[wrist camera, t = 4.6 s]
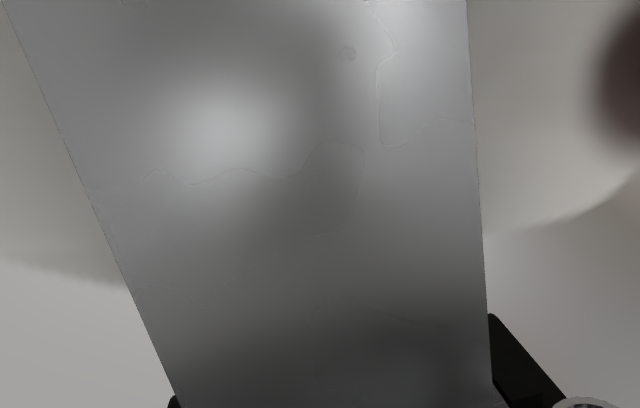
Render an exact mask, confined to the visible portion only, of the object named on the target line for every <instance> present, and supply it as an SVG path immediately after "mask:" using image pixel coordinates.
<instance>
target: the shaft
mask: <svg viewBox="0 0 640 408" xmlns="http://www.w3.org/2000/svg"><path fill="white" fill-rule="evenodd" d="M2 3H3V5H4V7H5V10H6V12H7V14H8V16H9V19H10V21H11V23H12V25H13V28H14V30H15V32H16V34H17V37H18V39H19V41H20V44H21V46H22V48H23V50H24V53H25V55H26V57H27V59H28V62H29V64H30V66H31V68H32V71H33V73H34V75H35V78H36V80H37V82H38V84H39V87H40V89H41V91H42V93H43V96H44V98H45V100H46V103H47V105H48V107H49V109H50V112H51V114H52V116H53V118H54V121H55V123H56V125H57V127H58V130H59V132H60V134H61V137H62V139H63V141H64V143H65V146H66V148H67V150H68V152H69V155H70V157H71V159H72V161H73V164H74V166H75V168H76V171H77V173H78V175H79V177H80V180H81V182H82V184H83V186H84V189H85V191H86V193H87V195H88V198H89V200H90V202H91V205H92V207H93V209H94V211H95V214H96V216H97V218H98V220H99V223H100V225H101V227H102V230H103V232H104V234H105V236H106V239H107V241H108V243H109V245H110V248H111V250H112V252H113V254H114V257H115V259H116V261H117V264H118V266H119V268H120V270H121V273H122V275H123V277H124V279H125V282H126V284H127V286H128V288H129V291H130V293H131V295H132V298H133V300H134V302H135V304H136V307H137V309H138V311H139V313H140V316H141V318H142V320H143V322H144V325H145V327H146V329H147V332H148V334H149V336H150V338H151V341H152V343H153V345H154V347H155V350H156V352H157V354H158V356H159V359H160V361H161V363H162V365H163V368H164V370H165V372H166V375H167V377H168V379H169V381H170V383H171V386H172V388H173V390H174V393H175V395H176V397H177V400H178V402H179V404H180V406H181V408H509V406H508V405H507V404H506V402H505V401H504V399H503V398H502V396H501V395H500V393H499V392H498V390H497V389H496V387H495V386H494V385H493V383H492V372H491V357H490V343H489V328H488V313H487V299H486V285H485V270H484V256H483V241H482V226H481V212H480V197H479V182H478V168H477V153H476V139H475V124H474V110H473V95H472V80H471V66H470V51H469V37H468V22H467V8H466V0H2Z"/></svg>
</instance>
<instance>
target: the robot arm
mask: <svg viewBox="0 0 640 408" xmlns="http://www.w3.org/2000/svg"><path fill="white" fill-rule="evenodd" d="M488 328H489V343H490V357H491V372H492V383H493V385H494V386H495V387H496V389H497V390H498V392H499V393H500V395H501V396H502V398H503V399H504V401H505V402H506V404H507V405H508V406H509V408H619V407H617V406H615V405H613V404H611V403H608V402H606V401H603V400H599V399H595V398H591V397H572V398H566V396H565V395H564V394H563V393H562V392H561V391H560V390H559V388H558V387H557V386H556V385H555V384H554V382H553V381H552V380H551V379H550V378H549V377H548V376H547V374H546V373H545V372H544V371H543V370H542V369H541V367H540V366H539V365H538V364H537V363H536V362H535V361H534V359H533V358H532V357H531V356H530V355H529V353H528V352H527V351H526V350H525V349H524V348H523V346H522V345H521V344H520V343H519V342H518V341H517V339H516V338H515V337H514V336H513V335H512V334H511V333H510V331H509V330H508V329H507V328H506V327H505V326H504V324H503V323H502V322H501V321H500V320H499V319H498V318H497V317H496V316H495V315H494V314H491V313H490V314H488ZM167 408H181V406H180V404H179V402H178V400H177V397H176V395H174V396H173V397H172V398H171V399H170V401H169V404H168V407H167Z"/></svg>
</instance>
